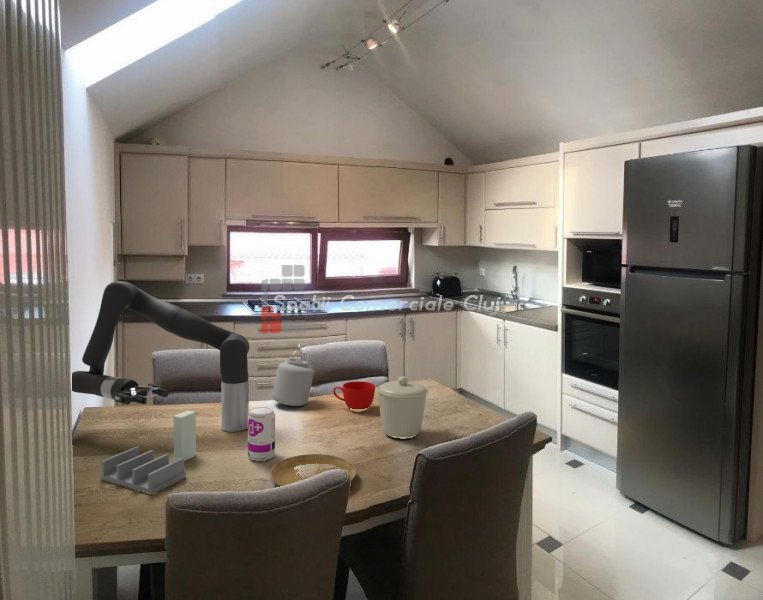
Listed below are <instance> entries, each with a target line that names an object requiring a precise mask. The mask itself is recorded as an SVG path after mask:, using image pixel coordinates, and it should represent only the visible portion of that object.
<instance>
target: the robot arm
mask: <svg viewBox="0 0 763 600" xmlns="http://www.w3.org/2000/svg"><path fill="white" fill-rule="evenodd" d="M101 297H102V298H101V303H100V308H99V312H98V316H97V319H96V322H95V325H94V328H93V330H92V334H91V336H90V338H89V341H88V343H87V346H86V348H85V350H84V352H83V355H82V360H81V361H82V363H83V364H84V365H86V366H87V367H89V370H88V371H85V370H75V371H74V372H71V373H72V392H74V393H78V394H85V395H93V396H94V395H95V396H98V397H102V398H105V399H106V398H107V399H109V400H110V401H114V402H116V403H120V404H124V405H127V406H128V405H130V404H141V405H146V404H147V401H148V400H147V398H152V397H154V396H155V397H156V396H158V397H161V398H162V397H163V398H168V397H169V390H167V389H164V385H159V384H155V383H148V384H147V385H140V384H139V383H138V382H137V381H136V380H134V379H131V378H126V377H121V376H111V375H107V374H105V373H104V372H105V363H106V361H107V358H108V356H109V353H110V351H111V348H112V345H113V341H114V336H115V331H116V327H117V324H118V321H119V319H120V317H121V315H122V313H123V312H124V310H128V311H131V312H135V313H136V314H139V315H142V316H144V317H146V318H147V319H148V320H150V321H151V322H152V323H154V324H155V325H156V326H158V327H159V328H161V329H163V330H164V331H166V332H167V333H170V334H172V335H174V336H176V337H179V338H182V339H185V340H188V341H193V342H197V343H201V344H202V343H203V344H206V345H209V346H211V347H212V348H214V349H216V350H219V370H220V371H219V373H220V379H221V380H220V381H221V384H220V385H221V394H220V395H221V423H220V424H221V429H222V430H223V431H224V432H230V433H231V432H232V433H233V432H234V433H235V432H236V433H237V432H241V430H242V431H244V429H248V415H249V413H250V402H249V400H250V399H249V372H248V353H249V352H250V348H251V347H250V343H249V341H248V339H247V337H245V336H243V334H242V335H241V334H240V333H236V332H233V331H230V330H228V329H225V328H222V327H219V326H218V325H216V324H213V323H212V322H210V321H208V320H206V319H204V318H202V317H201V316H198V315H196V314H194V313H192V312H191V311H189V310H186V309H184V308H183V307H180V306H178V305H176V304H172V303H170V302H168V301H165V300H162V299H159V298H157V297H155V296H153V295H151V294H149V293H147V292H146V291H144V290H142V289H140V288H139V287H137V286H135V285H134V284H133V283H130V282H128V281H121V280H119V281H112V282H110V283H109V284H108V285H106V287H104V291H103V293H102V296H101ZM148 392H149V394H148Z"/></svg>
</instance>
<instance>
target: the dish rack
mask: <svg viewBox="0 0 763 600" xmlns="http://www.w3.org/2000/svg"><path fill="white" fill-rule="evenodd" d="M154 452H155V451H154V449H151V450H148V451H146V452H143V453H141V454H140V446H138V445H137V446H134V447H132V448H129V449H128V450H125V451H123V452H119V453H117V454H115V455H113V456H110V457H107V458H106V459H104V460H101V474H100V481H103V480H105V481H104V482H107V481H108V483H110V482H111V483H110V484H113V483H114V484H115V485H117V484H118V485H117V486H120V485H121V487H123V486H125V487H124V488H127V487H129V488H128V489H130V488H132V489H131V490H133V489H136V490H135V491H137V490H140V491H144V492H148V493H151V494H153V493H155V492H157V491H159V490H161V489H162V490H164V489H166V488H168V487H170V486H172V485H174V484H175V482H176V483H177V482H179V481H181V480H183V479H185V478H186V471H185V461H184V458H180V459H178V460H176V461H174V460H173V462H170V461H169V460H170V457H169V456H170V454H169V453H165V454H163V455H161V456H159V457H157V458H155V453H154ZM173 483H174V484H173ZM171 484H172V485H171ZM169 485H170V486H169ZM167 486H168V487H167ZM165 487H166V488H165ZM163 488H164V489H163ZM162 490H161V491H162ZM140 491H139V492H140ZM159 492H160V491H159ZM157 493H158V492H157ZM155 494H156V493H155ZM153 495H154V494H153Z"/></svg>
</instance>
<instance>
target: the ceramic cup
mask: <svg viewBox="0 0 763 600" xmlns="http://www.w3.org/2000/svg"><path fill="white" fill-rule="evenodd" d="M336 390H340V391H341V392H342V396H343V397H340V396H339V395H337V393H336ZM332 392H333V395H334V396H335V398H337V399H338V400H341V401H342V402H345V403H344V404H345V405H346V406H347V408H348V407H349V408H352V409H365V408H368V407H369V408H370V407H371V406H372V404H373V402H374V398H375V392H376V385H375V384H374V383H372V382H368V381H363V380H362V381H361V380H359V381H358V380H355V381H348V382H345V383H343V384H342V387H341V386H335V387H334V388H333V391H332ZM349 408H348V409H349ZM369 408H368V409H369Z"/></svg>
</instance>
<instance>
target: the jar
mask: <svg viewBox="0 0 763 600" xmlns="http://www.w3.org/2000/svg"><path fill="white" fill-rule="evenodd" d="M298 348H300V343H299V344H298ZM296 352H297V351H296V350H295V351H294V352H293V354H292V355H295V353H296ZM301 352H303V351H302V349H301ZM284 360H285V361H283V362H281V363H279V364H278V366H277V368H276V369H277V370H276V374H275V379H274V385H273V389H272V394H271V395H272V396H271V398H272V399H273V400H274V401H275V402H277V403H279V404H282V405H285V406H291V407H303V406H305V405H307V404H308V401H309V399H310V396H311V395H310V394H311V388H312V385H313V379H314V375H315V374H314V373H315V372H314V371H315V370H314V369H313V368H312V367H310V366H309V364H310V362H308V361H306V360H303V359H299V358H298V359H296V358H291V357H288V358H286V359H285V358H284ZM314 392H316V391H315V390H314ZM312 394H313V392H312ZM311 397H312V396H311ZM302 405H303V406H302Z"/></svg>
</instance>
